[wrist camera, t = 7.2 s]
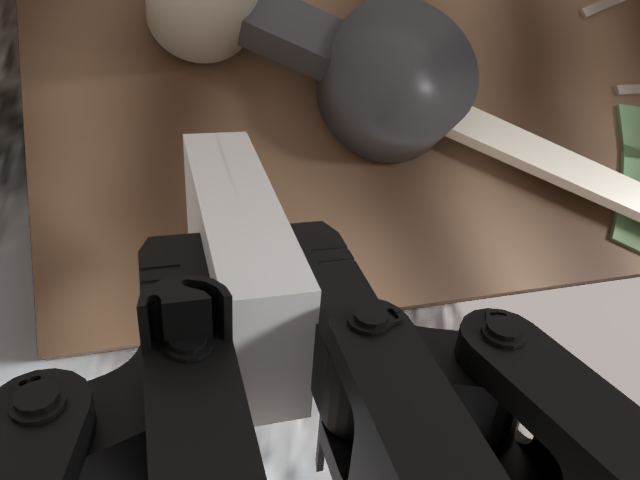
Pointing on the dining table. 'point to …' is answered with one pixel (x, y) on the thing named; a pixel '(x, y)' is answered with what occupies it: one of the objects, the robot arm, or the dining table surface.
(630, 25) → the brown wooden board
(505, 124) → the knobbed stick and post
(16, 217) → the dining table surface
